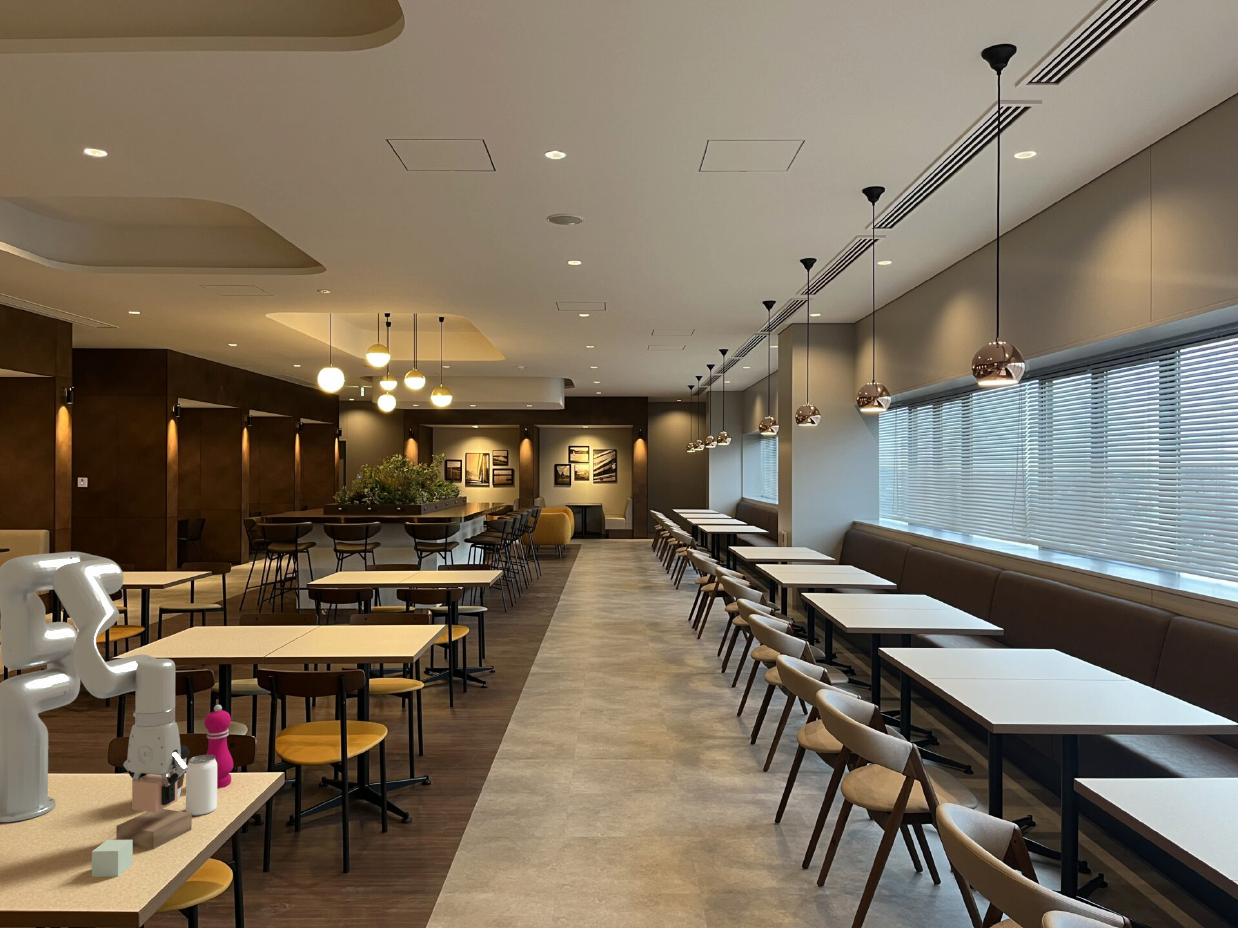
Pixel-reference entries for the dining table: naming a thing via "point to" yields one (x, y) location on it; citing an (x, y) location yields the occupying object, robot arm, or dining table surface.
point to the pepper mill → (219, 744)
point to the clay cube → (149, 793)
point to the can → (201, 785)
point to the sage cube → (112, 858)
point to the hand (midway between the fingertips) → (155, 800)
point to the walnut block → (155, 828)
